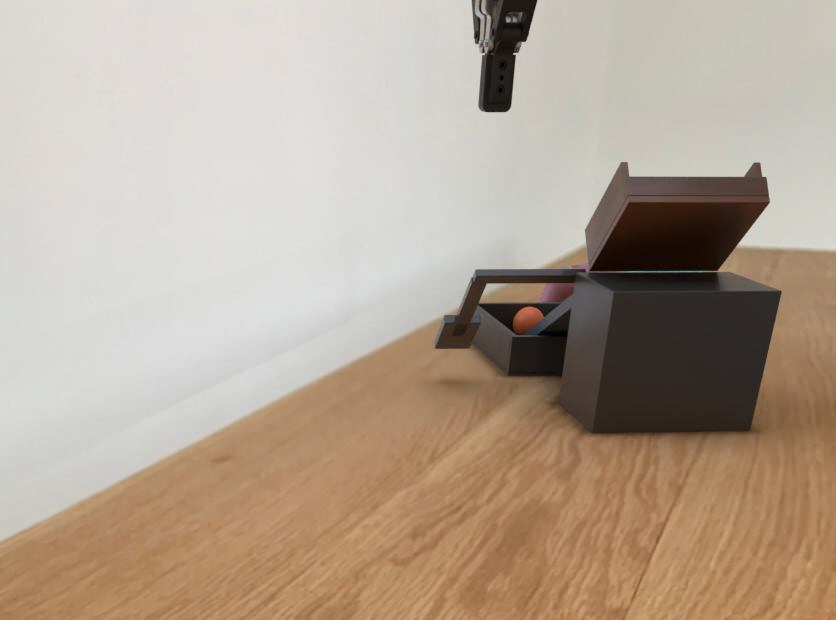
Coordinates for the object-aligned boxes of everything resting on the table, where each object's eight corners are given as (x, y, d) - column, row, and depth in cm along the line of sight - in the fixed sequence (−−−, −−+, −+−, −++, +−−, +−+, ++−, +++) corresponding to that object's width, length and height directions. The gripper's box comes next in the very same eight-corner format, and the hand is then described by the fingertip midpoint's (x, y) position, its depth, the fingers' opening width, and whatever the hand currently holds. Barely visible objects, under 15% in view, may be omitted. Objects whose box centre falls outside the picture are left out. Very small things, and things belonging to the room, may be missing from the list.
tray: (466, 339, 110) (469, 302, 108) (614, 338, 111) (620, 301, 109) (507, 378, 96) (512, 336, 94) (677, 376, 97) (684, 335, 95)
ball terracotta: (548, 301, 106) (550, 331, 106) (536, 316, 109) (538, 345, 109) (518, 300, 106) (520, 330, 105) (507, 315, 109) (509, 344, 108)
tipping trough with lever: (434, 349, 93) (431, 311, 94) (659, 347, 95) (655, 309, 95) (491, 202, 74) (487, 155, 75) (770, 202, 76) (764, 157, 77)
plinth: (557, 406, 88) (575, 272, 83) (703, 404, 89) (730, 271, 84) (591, 437, 81) (614, 291, 76) (749, 434, 82) (782, 290, 77)
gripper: (604, -201, 70) (568, 114, 79) (545, -163, 81) (519, 109, 90) (487, -203, 69) (464, 115, 78) (444, -164, 81) (428, 109, 89)
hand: (494, 111), depth 84 cm, fingers closed
